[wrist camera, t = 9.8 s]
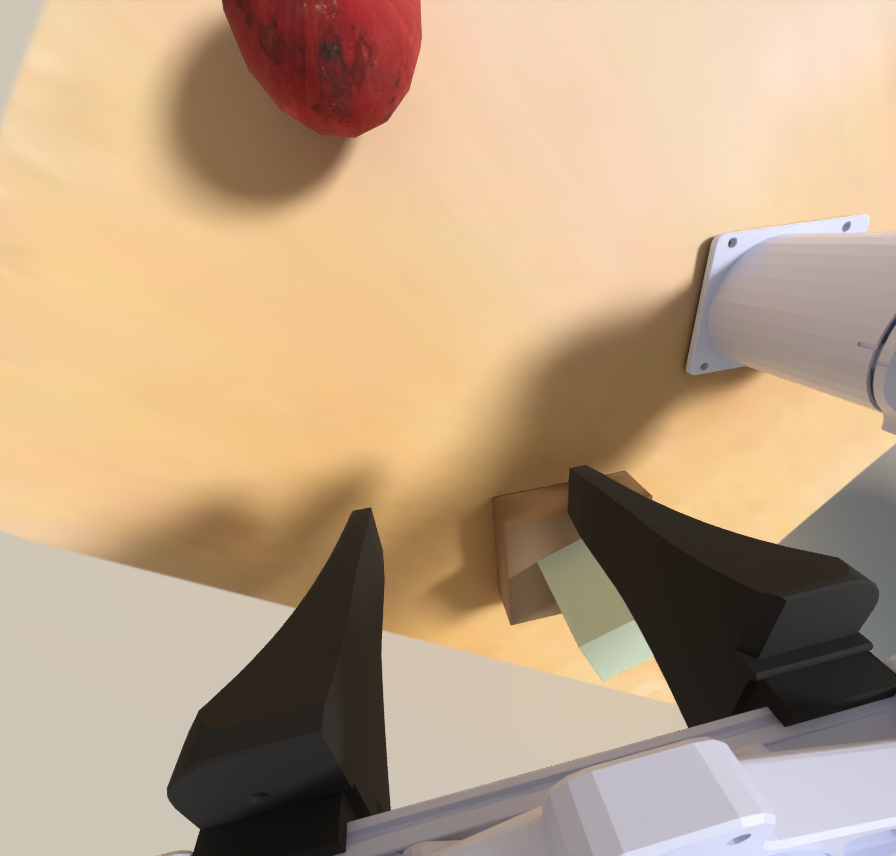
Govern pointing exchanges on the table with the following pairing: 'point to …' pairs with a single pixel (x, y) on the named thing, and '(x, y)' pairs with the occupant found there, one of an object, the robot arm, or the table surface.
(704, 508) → the table surface
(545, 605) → the walnut base
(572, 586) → the sage block
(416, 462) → the table surface
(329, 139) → the table surface
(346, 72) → the onion
